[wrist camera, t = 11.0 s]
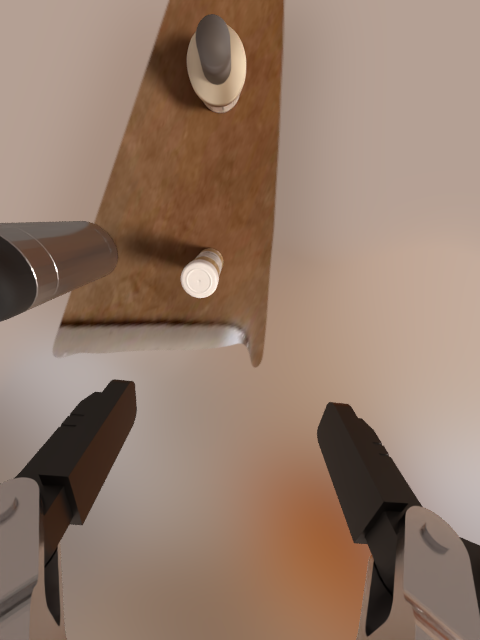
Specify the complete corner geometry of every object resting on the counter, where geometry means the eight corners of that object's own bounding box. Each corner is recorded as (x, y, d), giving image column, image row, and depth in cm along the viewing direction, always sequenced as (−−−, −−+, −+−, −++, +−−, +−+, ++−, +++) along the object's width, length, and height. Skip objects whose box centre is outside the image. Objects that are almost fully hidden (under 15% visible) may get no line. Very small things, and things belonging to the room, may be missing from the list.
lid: (205, 118, 28) (198, 100, 24) (177, 49, 26) (164, 13, 21) (254, 89, 27) (257, 64, 23) (231, 14, 25) (229, -32, 20)
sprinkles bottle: (192, 263, 39) (172, 284, 27) (207, 241, 38) (193, 253, 26) (214, 279, 41) (203, 305, 28) (229, 258, 39) (225, 277, 27)
